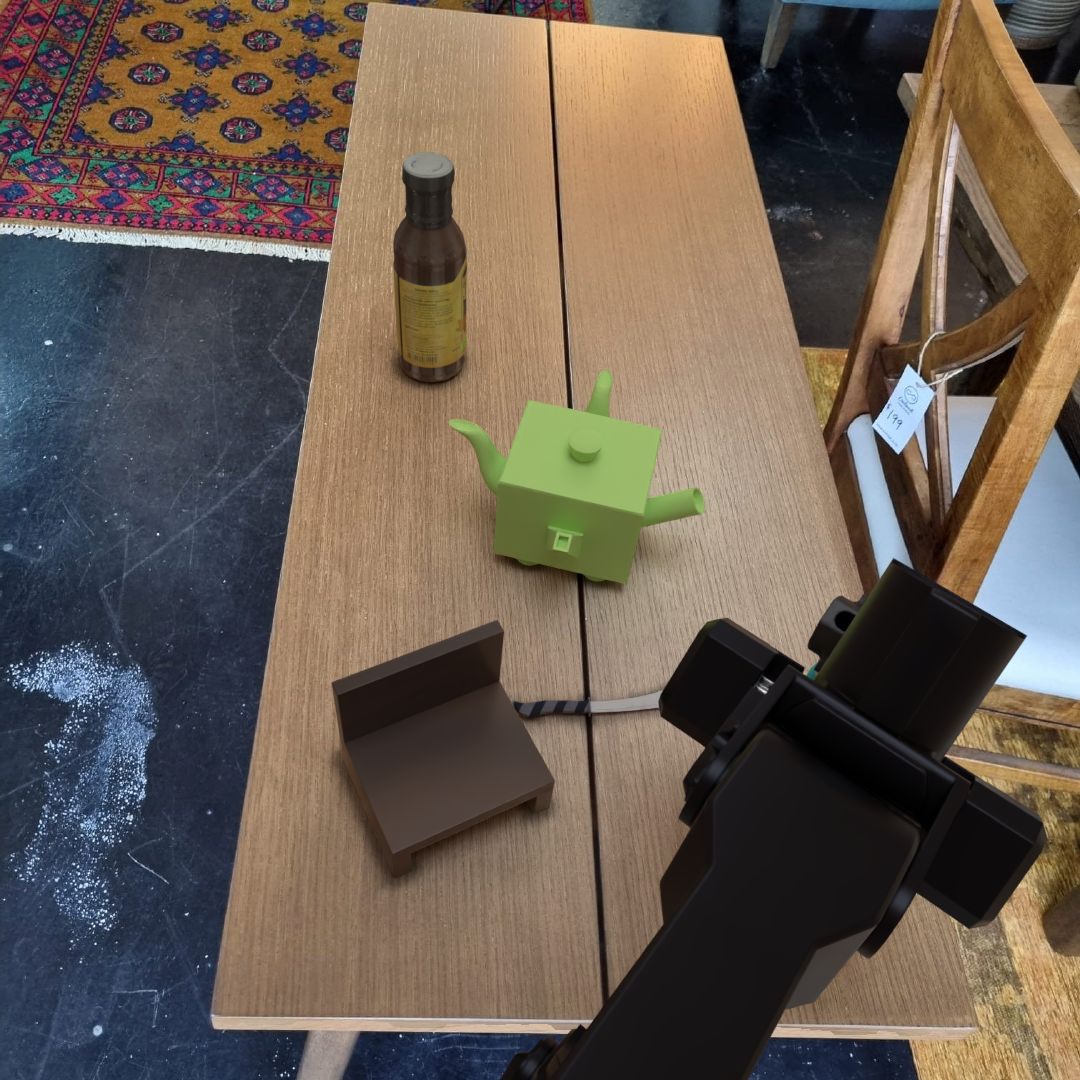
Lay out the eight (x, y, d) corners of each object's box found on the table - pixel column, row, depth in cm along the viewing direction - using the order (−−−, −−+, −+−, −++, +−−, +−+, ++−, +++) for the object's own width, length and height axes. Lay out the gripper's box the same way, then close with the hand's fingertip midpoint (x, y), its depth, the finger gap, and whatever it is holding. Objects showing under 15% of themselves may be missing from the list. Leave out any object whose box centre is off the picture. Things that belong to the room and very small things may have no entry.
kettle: (445, 508, 82) (447, 407, 73) (585, 448, 87) (602, 348, 79) (548, 640, 74) (563, 545, 66) (693, 564, 80) (725, 468, 71)
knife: (519, 735, 69) (520, 729, 68) (511, 705, 71) (512, 698, 70) (773, 689, 73) (776, 683, 72) (760, 661, 75) (764, 654, 74)
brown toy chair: (549, 807, 66) (565, 735, 58) (394, 879, 62) (388, 811, 54) (490, 699, 71) (497, 619, 63) (343, 759, 67) (331, 682, 59)
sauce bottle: (477, 373, 92) (486, 177, 77) (417, 394, 90) (414, 196, 74) (443, 333, 96) (445, 137, 80) (385, 352, 93) (375, 154, 78)
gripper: (1146, 765, 39) (1087, 716, 54) (739, 524, 45) (785, 538, 60) (987, 988, 41) (972, 882, 55) (616, 726, 47) (690, 693, 62)
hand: (852, 739), depth 58 cm, fingers closed on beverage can, 6 cm apart
